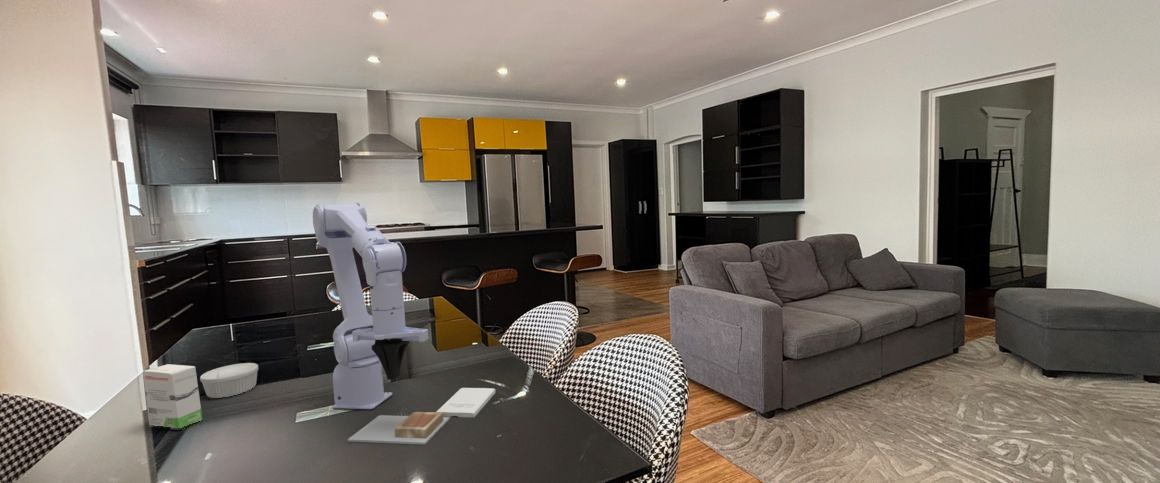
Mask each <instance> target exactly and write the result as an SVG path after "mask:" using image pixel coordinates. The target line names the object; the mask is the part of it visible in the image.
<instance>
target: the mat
mask: <svg viewBox="0 0 1160 483" xmlns="http://www.w3.org/2000/svg"><path fill="white" fill-rule="evenodd" d="M409 416H410V415H385V414H384V415H382V414H380V415H378V416H376V417H375V418H374V419H372V420H371V421H370V422H369V423H367V424H366V425H365V426H364V427H362V428H361V429H359V430H357V432H356V433H354V434H353V435H351V436H350V437H349V438H347V443H349V442H350V443H352V442H353V443H373V444H376V443H377V444H396V445H397V444H400V445H423V446H426V444H428V442H430V440H431V439H433V437H434V436H435V435H436V434H437V433H438V432H440V430H441V429H442V428H443V427H444V426H445V425H446V424H447V423H448V422H449V421H450V418H451V417H443V419H444V421H443V422H442V423H441V424H440V425H439V426H438V427H437V428H436V429H435V430H434V431H433V432H432V433H431V434H430V435H429V436H428V437H427V438H404V437H395V428H396V427H397V426H398V425H399V424H401V423H402V422H403V421H404V420H405V419H406V418H408V417H409Z"/></svg>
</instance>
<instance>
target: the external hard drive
mask: <svg viewBox="0 0 1160 483" xmlns="http://www.w3.org/2000/svg"><path fill="white" fill-rule="evenodd" d="M495 395H496V389H495V388H493V387H492V388H489V387H461V388H460V389H458V391H456V392H455V393H454V394H453V395H452V396H451V397H450V398H449V399H448V400H447V401H446V402H445V403H444V404H443V405H442V406H440V408H439V409H437V411H436V413H443V417H450V418H452V417H457V418H472V419H473V418H475V417H476V416H477V415H478V414H479V413H480V411H481V410H482V409H483V408H484V407H485V406H486V404H487V403H488V402H489V401H490V400H491V399H492V398H493V396H495Z"/></svg>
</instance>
